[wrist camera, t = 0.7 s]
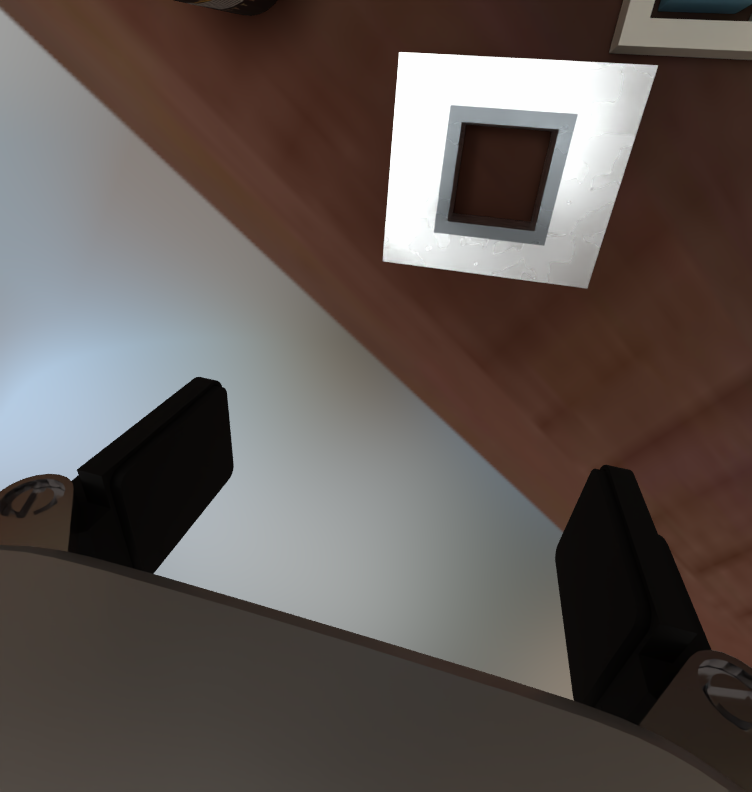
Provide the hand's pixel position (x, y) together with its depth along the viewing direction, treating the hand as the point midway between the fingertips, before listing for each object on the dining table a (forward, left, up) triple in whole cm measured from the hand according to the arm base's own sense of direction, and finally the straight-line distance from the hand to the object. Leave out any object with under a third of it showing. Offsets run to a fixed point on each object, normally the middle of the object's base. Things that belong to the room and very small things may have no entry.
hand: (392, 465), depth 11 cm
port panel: (-5, +2, -27) cm, 27 cm away
